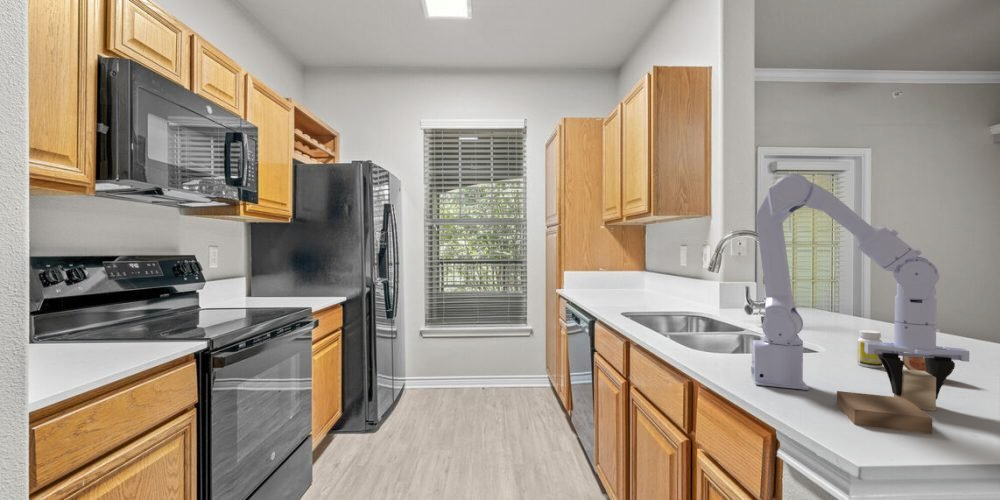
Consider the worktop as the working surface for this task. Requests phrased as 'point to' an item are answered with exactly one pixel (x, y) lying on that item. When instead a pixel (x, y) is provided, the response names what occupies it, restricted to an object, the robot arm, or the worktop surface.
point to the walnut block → (884, 412)
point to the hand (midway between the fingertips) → (914, 395)
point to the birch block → (919, 389)
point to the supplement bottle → (863, 357)
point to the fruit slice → (915, 363)
